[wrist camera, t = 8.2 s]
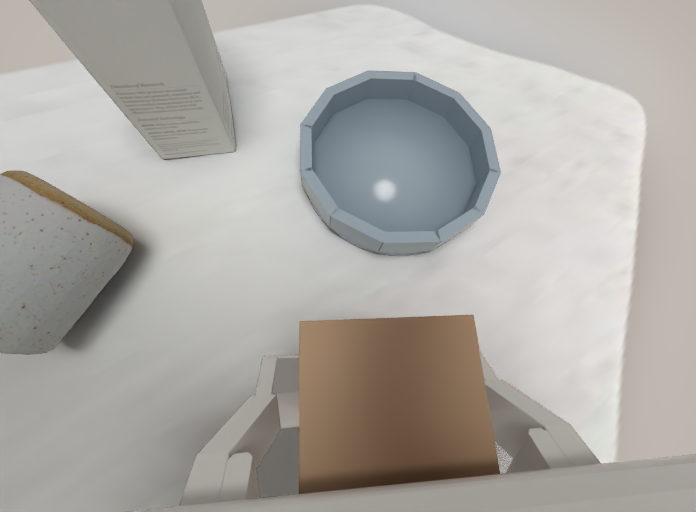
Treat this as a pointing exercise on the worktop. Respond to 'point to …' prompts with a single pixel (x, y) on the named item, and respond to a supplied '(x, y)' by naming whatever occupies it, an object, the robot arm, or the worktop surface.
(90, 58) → the skincare box
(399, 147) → the slate bowl
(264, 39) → the worktop surface
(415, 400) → the walnut block
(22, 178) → the ceramic mug
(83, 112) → the worktop surface
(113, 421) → the worktop surface
